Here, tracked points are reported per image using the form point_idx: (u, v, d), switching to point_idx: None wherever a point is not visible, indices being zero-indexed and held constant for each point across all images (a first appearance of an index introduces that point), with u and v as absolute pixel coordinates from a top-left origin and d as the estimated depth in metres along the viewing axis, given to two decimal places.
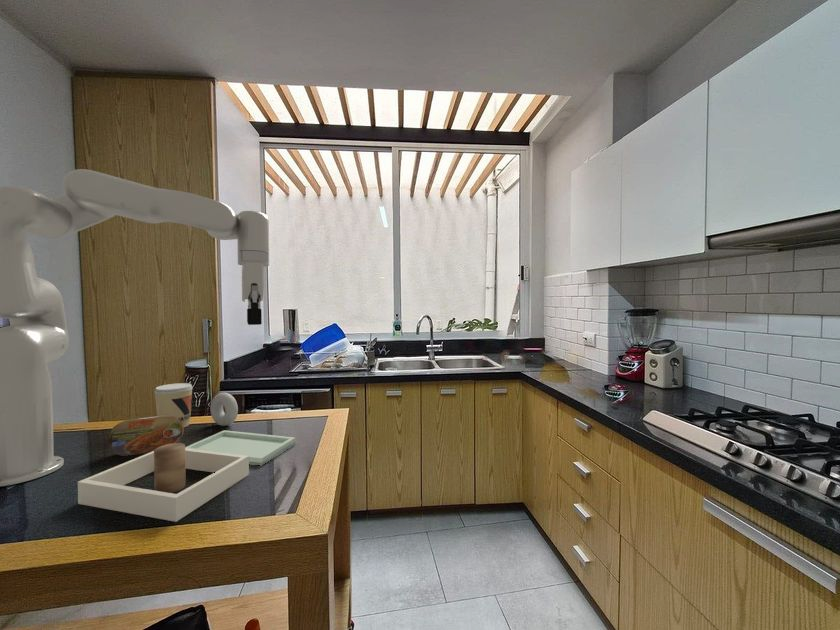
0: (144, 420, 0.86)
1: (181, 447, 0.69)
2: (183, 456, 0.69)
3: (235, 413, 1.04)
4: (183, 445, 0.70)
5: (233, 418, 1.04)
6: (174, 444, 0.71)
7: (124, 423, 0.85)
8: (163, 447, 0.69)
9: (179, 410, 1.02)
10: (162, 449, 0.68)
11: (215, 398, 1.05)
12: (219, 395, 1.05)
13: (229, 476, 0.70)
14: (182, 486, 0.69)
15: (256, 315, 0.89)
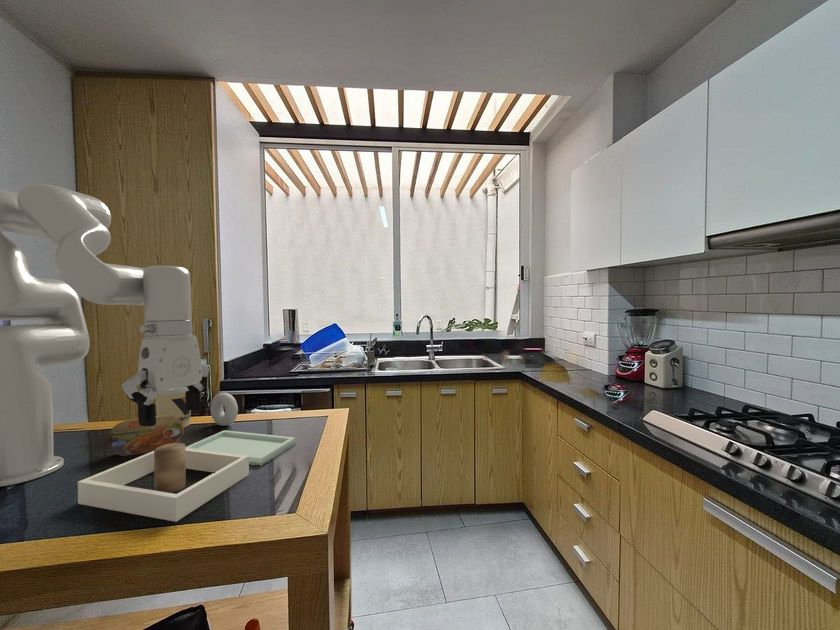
0: None
1: (181, 447, 0.69)
2: (183, 456, 0.69)
3: (235, 413, 1.04)
4: (183, 445, 0.70)
5: (233, 418, 1.04)
6: (174, 444, 0.71)
7: (124, 423, 0.85)
8: (163, 447, 0.69)
9: (179, 410, 1.02)
10: (162, 449, 0.68)
11: (215, 398, 1.05)
12: (219, 395, 1.05)
13: (229, 476, 0.70)
14: (182, 486, 0.69)
15: None
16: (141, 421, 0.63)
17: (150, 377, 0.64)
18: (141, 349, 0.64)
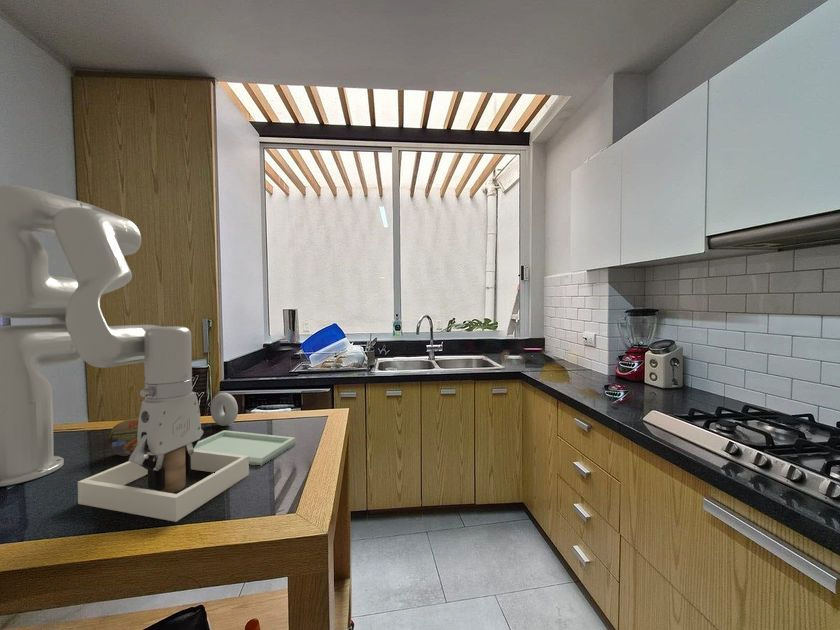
0: None
1: (181, 447, 0.69)
2: (183, 456, 0.69)
3: (235, 413, 1.04)
4: None
5: (233, 418, 1.04)
6: None
7: (124, 423, 0.85)
8: None
9: None
10: None
11: (215, 398, 1.05)
12: (219, 395, 1.05)
13: (229, 476, 0.70)
14: (182, 486, 0.69)
15: None
16: (150, 485, 0.66)
17: (149, 441, 0.64)
18: (141, 412, 0.65)
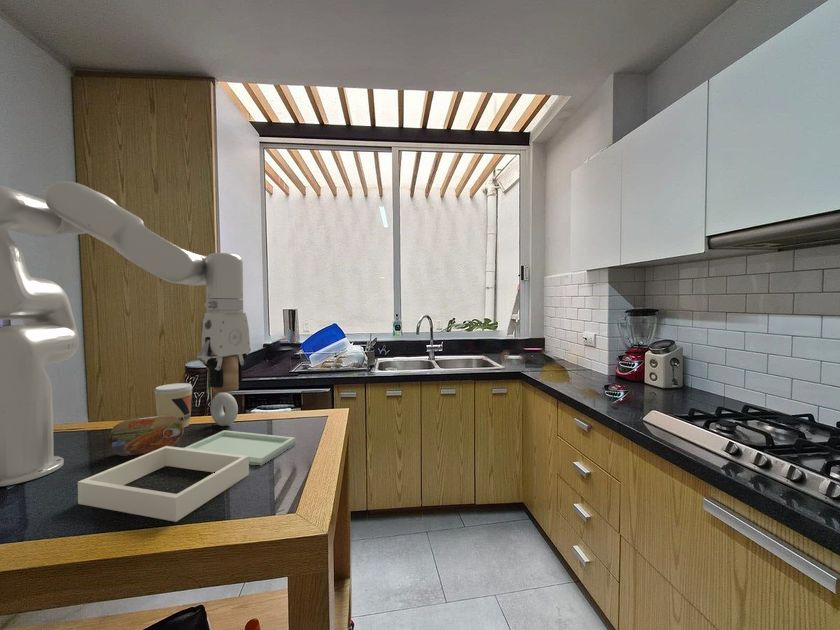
0: (144, 420, 0.86)
1: (235, 355, 0.83)
2: (237, 363, 0.83)
3: (235, 413, 1.04)
4: (236, 355, 0.84)
5: (233, 418, 1.04)
6: None
7: (124, 423, 0.85)
8: None
9: (179, 410, 1.02)
10: None
11: (215, 398, 1.05)
12: (219, 395, 1.05)
13: (229, 476, 0.70)
14: (236, 388, 0.82)
15: None
16: (212, 383, 0.79)
17: (212, 344, 0.77)
18: (205, 321, 0.78)
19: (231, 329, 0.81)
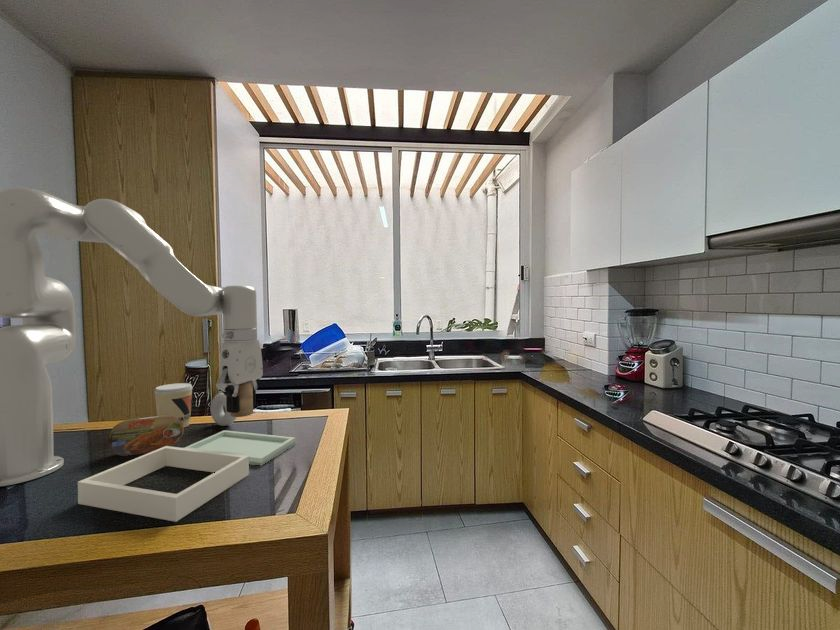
0: (144, 420, 0.86)
1: (250, 381, 0.88)
2: (252, 388, 0.88)
3: None
4: None
5: (233, 418, 1.04)
6: None
7: (124, 423, 0.85)
8: None
9: (179, 410, 1.02)
10: None
11: (215, 398, 1.05)
12: (219, 395, 1.05)
13: (229, 476, 0.70)
14: (251, 412, 0.87)
15: None
16: (229, 409, 0.84)
17: (229, 372, 0.82)
18: (222, 351, 0.83)
19: (246, 357, 0.85)
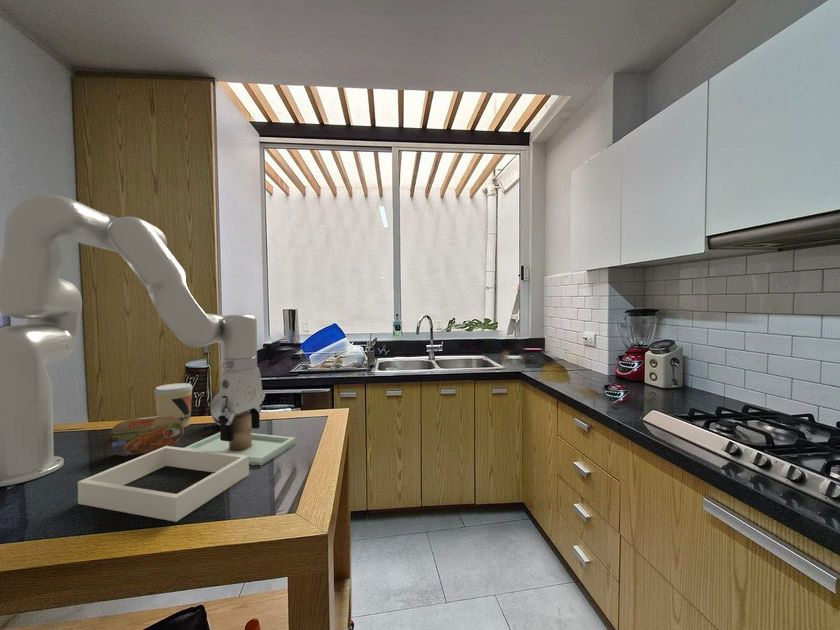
0: (144, 420, 0.86)
1: (249, 414, 0.88)
2: (250, 422, 0.88)
3: None
4: (250, 413, 0.89)
5: None
6: (242, 413, 0.89)
7: (124, 423, 0.85)
8: (235, 414, 0.88)
9: (179, 410, 1.02)
10: (235, 416, 0.87)
11: (215, 398, 1.05)
12: None
13: (229, 476, 0.70)
14: (250, 445, 0.87)
15: None
16: (223, 437, 0.82)
17: (229, 403, 0.82)
18: (222, 380, 0.83)
19: (246, 386, 0.86)
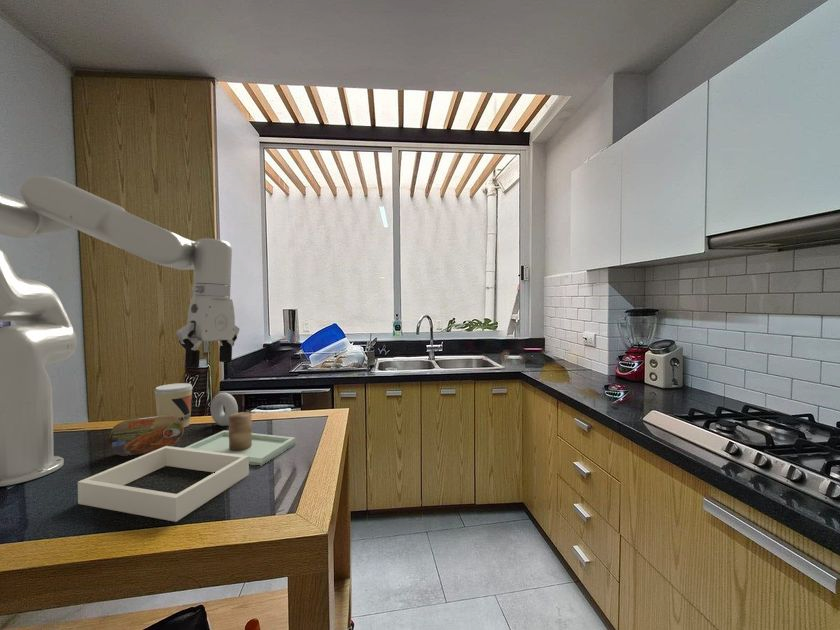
0: (144, 420, 0.86)
1: (249, 414, 0.88)
2: (250, 422, 0.88)
3: None
4: (250, 413, 0.89)
5: None
6: (242, 413, 0.89)
7: (124, 423, 0.85)
8: (235, 414, 0.88)
9: (179, 410, 1.02)
10: (235, 416, 0.87)
11: (215, 398, 1.05)
12: (219, 395, 1.05)
13: (229, 476, 0.70)
14: (250, 445, 0.87)
15: None
16: (188, 363, 0.78)
17: (197, 328, 0.78)
18: (191, 305, 0.79)
19: (217, 314, 0.81)
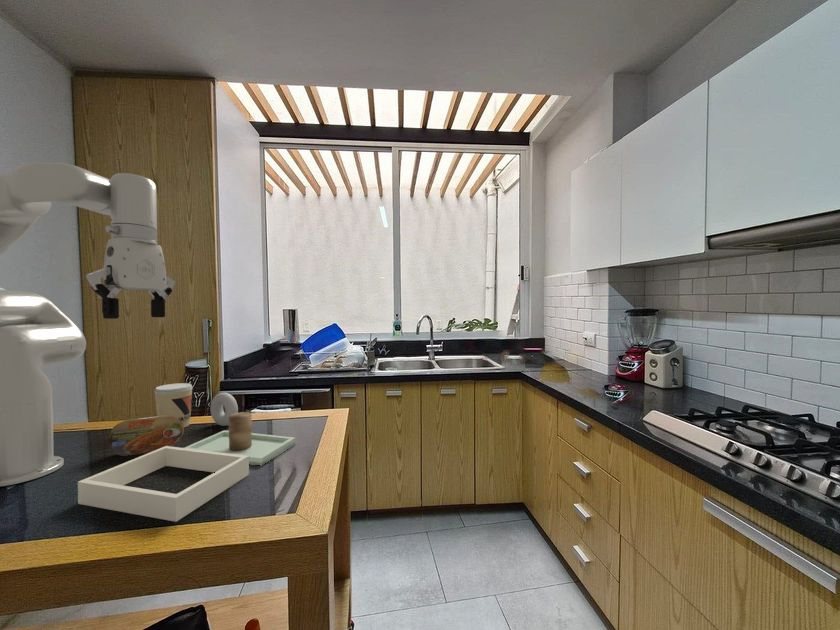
0: (144, 420, 0.86)
1: (249, 414, 0.88)
2: (250, 422, 0.88)
3: None
4: (250, 413, 0.89)
5: None
6: (242, 413, 0.89)
7: (124, 423, 0.85)
8: (235, 414, 0.88)
9: (179, 410, 1.02)
10: (235, 416, 0.87)
11: (215, 398, 1.05)
12: (219, 395, 1.05)
13: (229, 476, 0.70)
14: (250, 445, 0.87)
15: None
16: (105, 313, 0.69)
17: (113, 273, 0.69)
18: (107, 248, 0.70)
19: (139, 259, 0.72)
